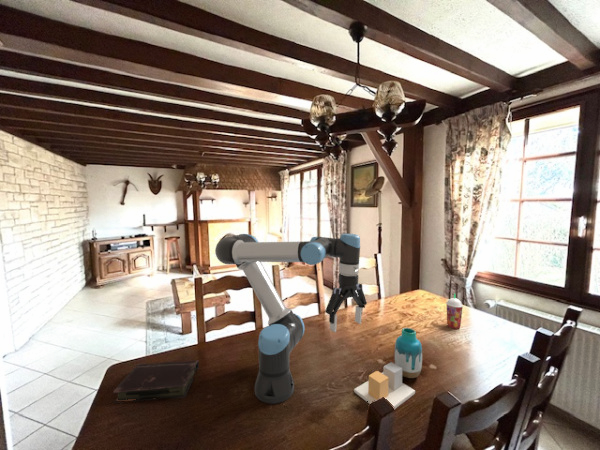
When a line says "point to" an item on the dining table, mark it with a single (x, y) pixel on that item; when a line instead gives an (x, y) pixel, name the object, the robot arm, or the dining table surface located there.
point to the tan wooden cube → (378, 385)
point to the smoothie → (454, 312)
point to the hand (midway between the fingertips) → (346, 326)
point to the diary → (157, 381)
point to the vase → (408, 353)
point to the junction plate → (389, 387)
